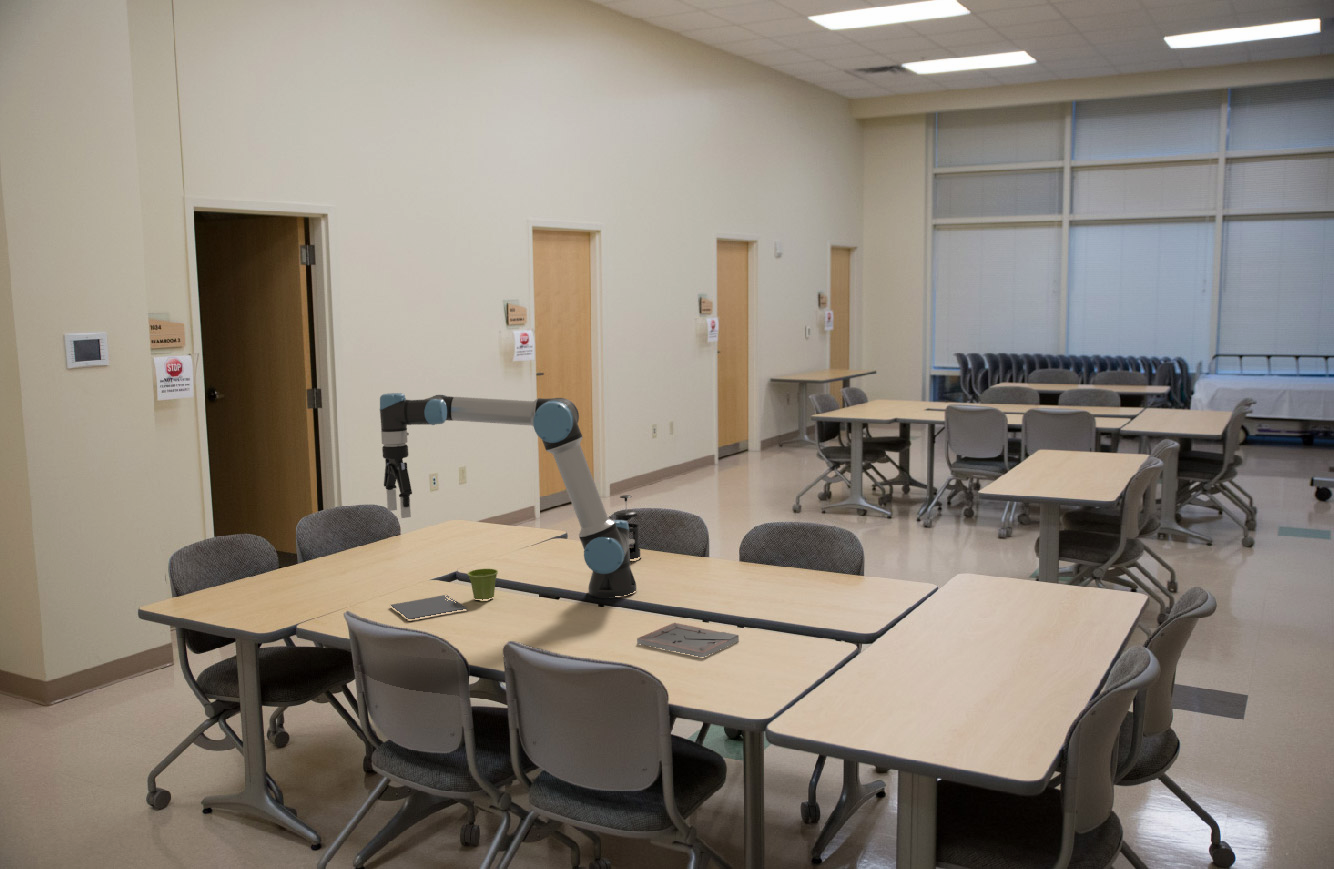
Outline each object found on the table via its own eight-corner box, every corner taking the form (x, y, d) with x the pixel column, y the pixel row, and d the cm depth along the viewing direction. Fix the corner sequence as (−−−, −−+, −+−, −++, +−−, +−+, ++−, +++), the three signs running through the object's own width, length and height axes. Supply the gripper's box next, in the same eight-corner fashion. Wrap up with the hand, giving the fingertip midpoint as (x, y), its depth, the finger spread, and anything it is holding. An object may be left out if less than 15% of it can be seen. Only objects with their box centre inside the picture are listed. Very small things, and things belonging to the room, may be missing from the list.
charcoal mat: (467, 611, 315) (467, 607, 315) (408, 622, 306) (408, 618, 306) (446, 597, 331) (446, 594, 330) (390, 607, 321) (390, 604, 321)
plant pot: (502, 601, 325) (500, 573, 324) (472, 605, 322) (470, 577, 321) (495, 593, 334) (494, 567, 333) (466, 597, 330) (464, 570, 329)
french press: (648, 558, 374) (645, 494, 371) (630, 563, 366) (628, 499, 363) (623, 554, 381) (620, 491, 378) (605, 559, 374) (603, 496, 371)
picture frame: (738, 643, 280) (674, 630, 293) (738, 634, 279) (674, 621, 292) (703, 661, 267) (637, 646, 280) (702, 652, 266) (636, 637, 280)
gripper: (420, 447, 307) (424, 518, 309) (394, 439, 328) (398, 506, 331) (395, 450, 303) (399, 522, 306) (370, 441, 324) (375, 509, 327)
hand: (399, 513), depth 318 cm, fingers open, 13 cm apart
